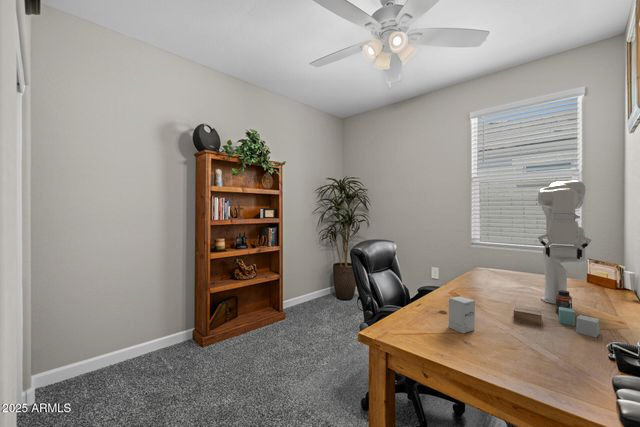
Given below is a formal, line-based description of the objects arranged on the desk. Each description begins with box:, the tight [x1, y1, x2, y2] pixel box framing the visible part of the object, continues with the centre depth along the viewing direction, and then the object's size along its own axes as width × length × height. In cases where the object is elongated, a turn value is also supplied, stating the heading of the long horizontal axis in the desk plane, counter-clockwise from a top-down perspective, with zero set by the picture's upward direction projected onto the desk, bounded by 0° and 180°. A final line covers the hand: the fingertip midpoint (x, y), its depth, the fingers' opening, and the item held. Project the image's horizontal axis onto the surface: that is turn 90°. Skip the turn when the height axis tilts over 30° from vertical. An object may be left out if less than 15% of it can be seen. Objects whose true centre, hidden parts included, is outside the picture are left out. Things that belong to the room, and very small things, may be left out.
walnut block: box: [513, 304, 543, 327], centre depth 129 cm, size 10×10×5 cm
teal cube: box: [558, 307, 576, 327], centre depth 126 cm, size 5×5×6 cm
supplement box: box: [448, 296, 476, 334], centre depth 118 cm, size 7×7×13 cm
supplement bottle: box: [555, 290, 573, 315], centre depth 136 cm, size 6×6×11 cm
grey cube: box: [575, 314, 601, 338], centre depth 115 cm, size 6×6×6 cm
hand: (563, 257), depth 120 cm, fingers open, 9 cm apart
